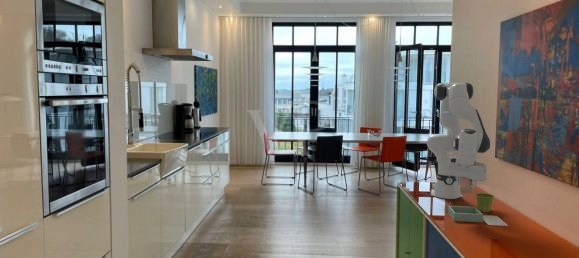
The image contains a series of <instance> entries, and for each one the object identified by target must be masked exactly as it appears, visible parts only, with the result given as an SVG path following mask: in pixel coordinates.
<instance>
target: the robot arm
mask: <svg viewBox="0 0 579 258" xmlns="http://www.w3.org/2000/svg"><path fill="white" fill-rule="evenodd" d="M474 93H475V92H474V85H473V84H472V83H470V82H469V83H468V82H458V81H456V82H445V83H444V82H441V83H437V84H436V85H435V87H434V90H433V94H434V98H435V99H436V101H441V103H440V111H439V113H440V114H439V124H440V126H441V127H442V128H444V129H445V130H448V131H449V134H439V133H437V134H432V135H431V134H430V135H429V136H428V137H427V140H426V146H427V148H428V149H429V151H431V152H432V153H433V154H434V156H435V157H436V160H437V171H438V172H437V174H436V180H435V182H434V183H432V185H431V187H432V189H431V191H430V196H431V197H436V198H439V199H447V200H456V199H459V198H463V195H462V193H461V192H460V177H462V178H467V179H471V180H473V182H472V185H471V188H472V190H473V189H475V188H476V184H478V182H481V183H482V182H486V181H487V177H488V175H487V174H488V173H487V169H488V168H487V165H486V164H485V163H484V162H478V161H477V159H478V154H477V153H480V154H484V153H486V152H488V151H489V150H490V148H491V140H490V137H489V135H488V134H487V132H486V129H485V126H484V123H483V120H482V118H481V115H480V113H479V111H478V110H477V108H475V107H473V106H472V103H470V102H471V101H470V100H471V99H472V98H473V96H474ZM460 119H463V120H466V121H468V122H470V123H471V124H472V126H473V129H472V128H463V129H462V128H461V123H460ZM448 153H458V156H454V157H450V156H449V155H448Z"/></svg>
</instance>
